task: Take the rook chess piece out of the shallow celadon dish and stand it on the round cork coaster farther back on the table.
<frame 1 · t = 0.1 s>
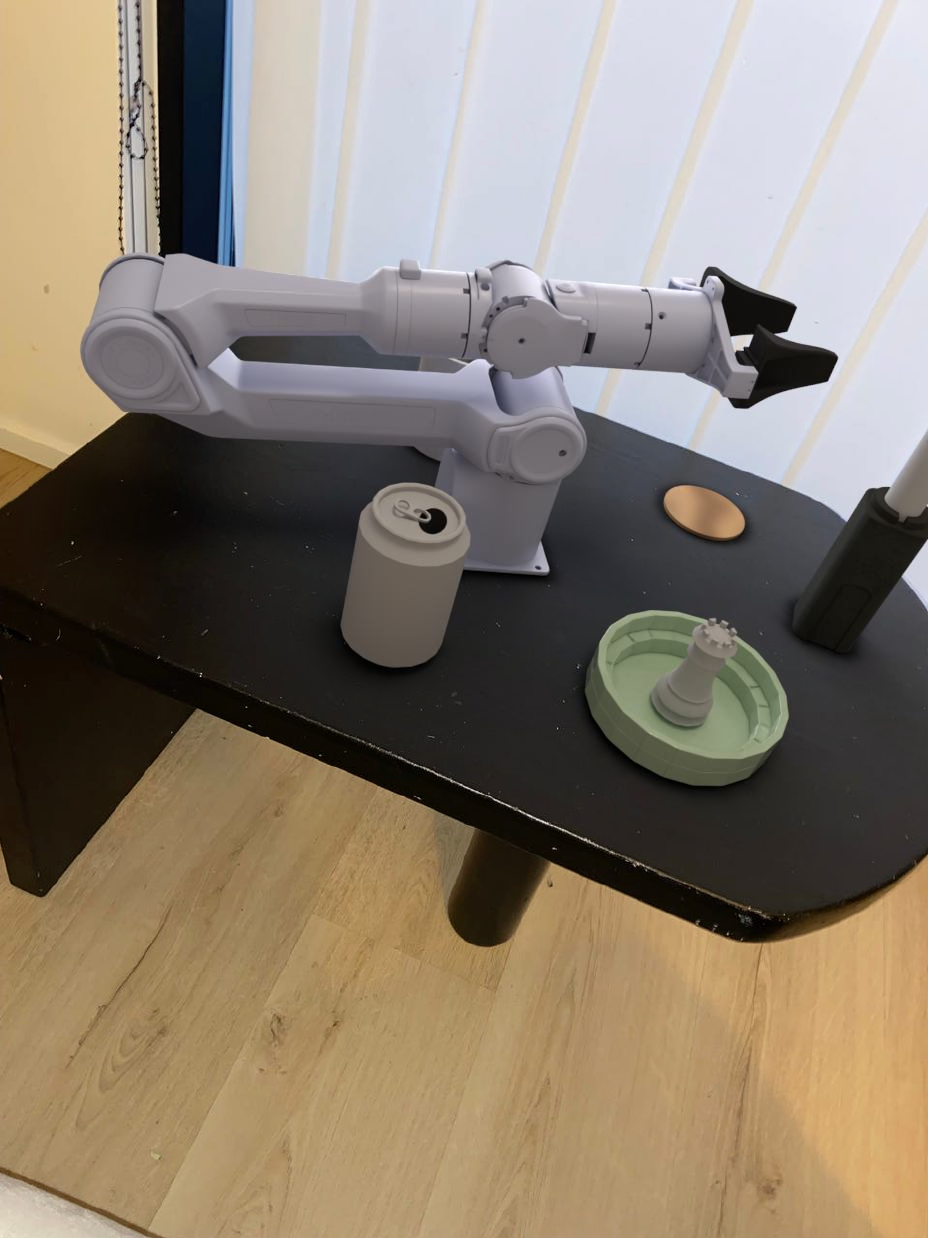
hand: (810, 341, 70), 22 cm above the table, tool horizontal, fingers open, 7 cm apart
can: (389, 639, 69), on the table
mug: (456, 431, 92), on the table
coaster: (703, 513, 91), on the table
dish: (675, 710, 70), on the table
rook chess piece: (676, 708, 70), resting on dish
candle: (820, 629, 82), on the table
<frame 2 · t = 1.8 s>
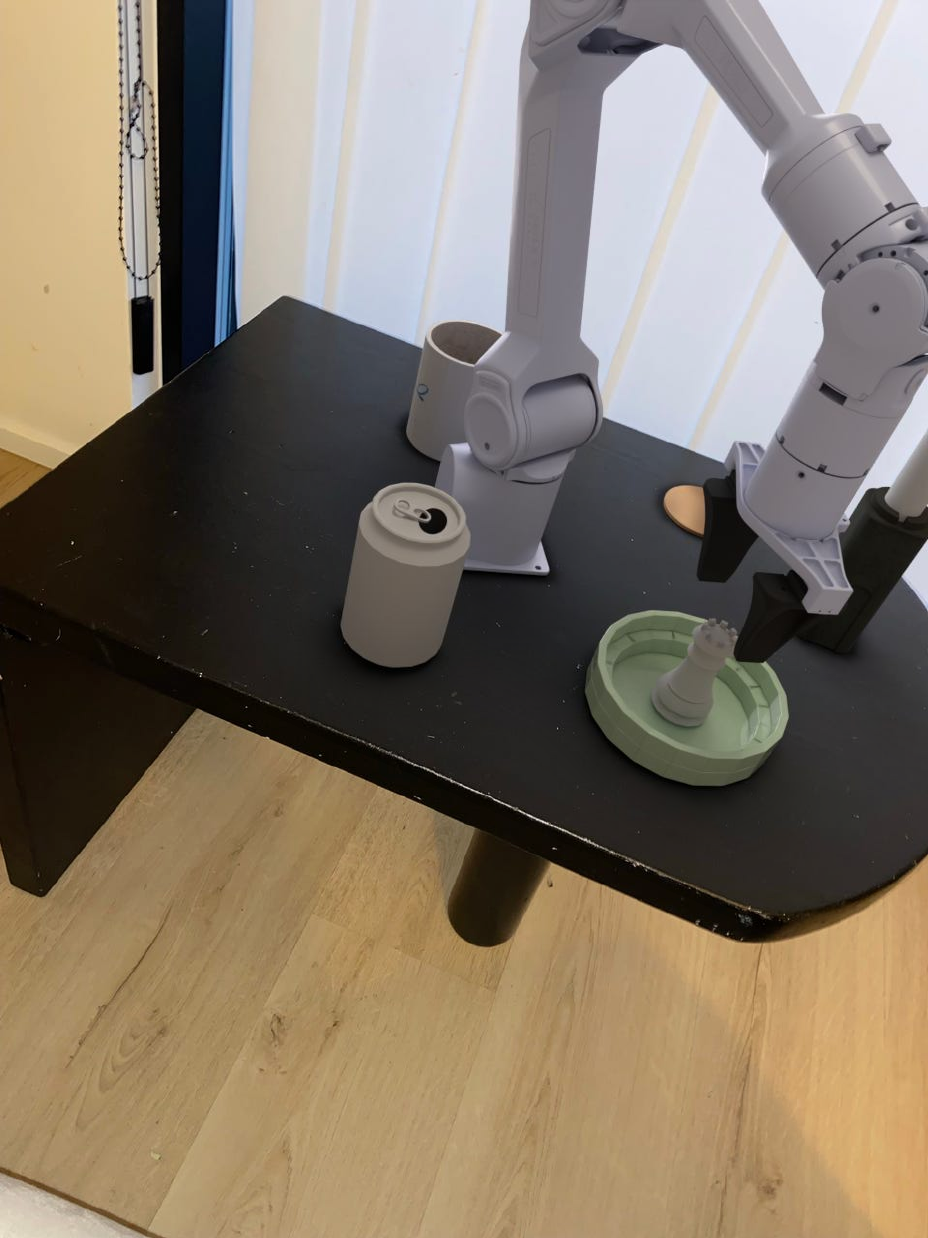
hand: (728, 617, 64), 10 cm above the table, tool pointing down, fingers open, 7 cm apart
nothing on the table moved.
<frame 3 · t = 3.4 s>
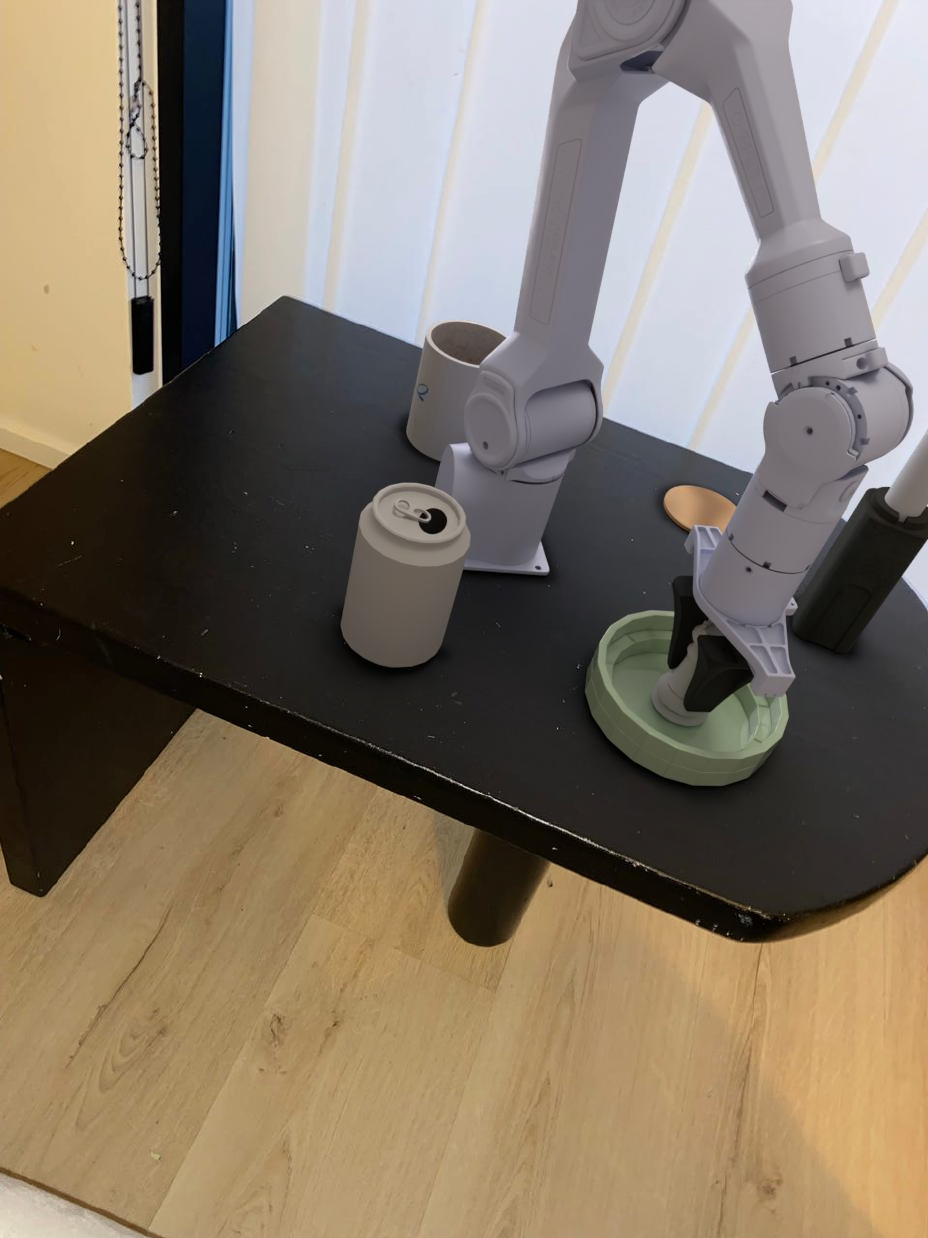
hand: (688, 687, 69), 3 cm above the table, tool pointing down, fingers closed on rook chess piece, 3 cm apart
rook chess piece: (676, 708, 70), resting on dish, touching gripper
everything else where it was.
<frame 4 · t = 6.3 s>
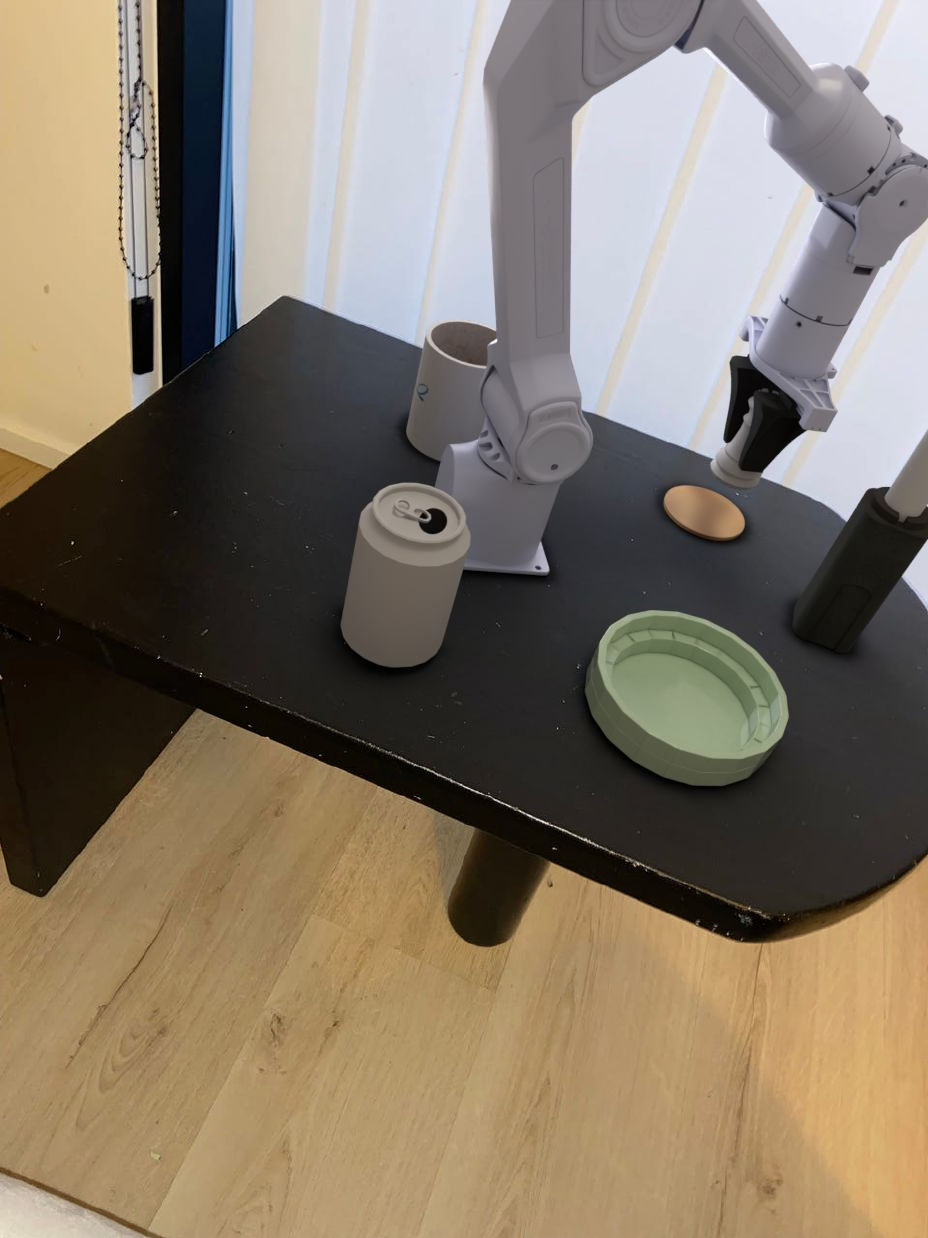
hand: (742, 455, 81), 9 cm above the table, tool pointing down, fingers closed on rook chess piece, 3 cm apart
rook chess piece: (731, 478, 82), point 7 cm above the table, touching gripper
everything else where it was.
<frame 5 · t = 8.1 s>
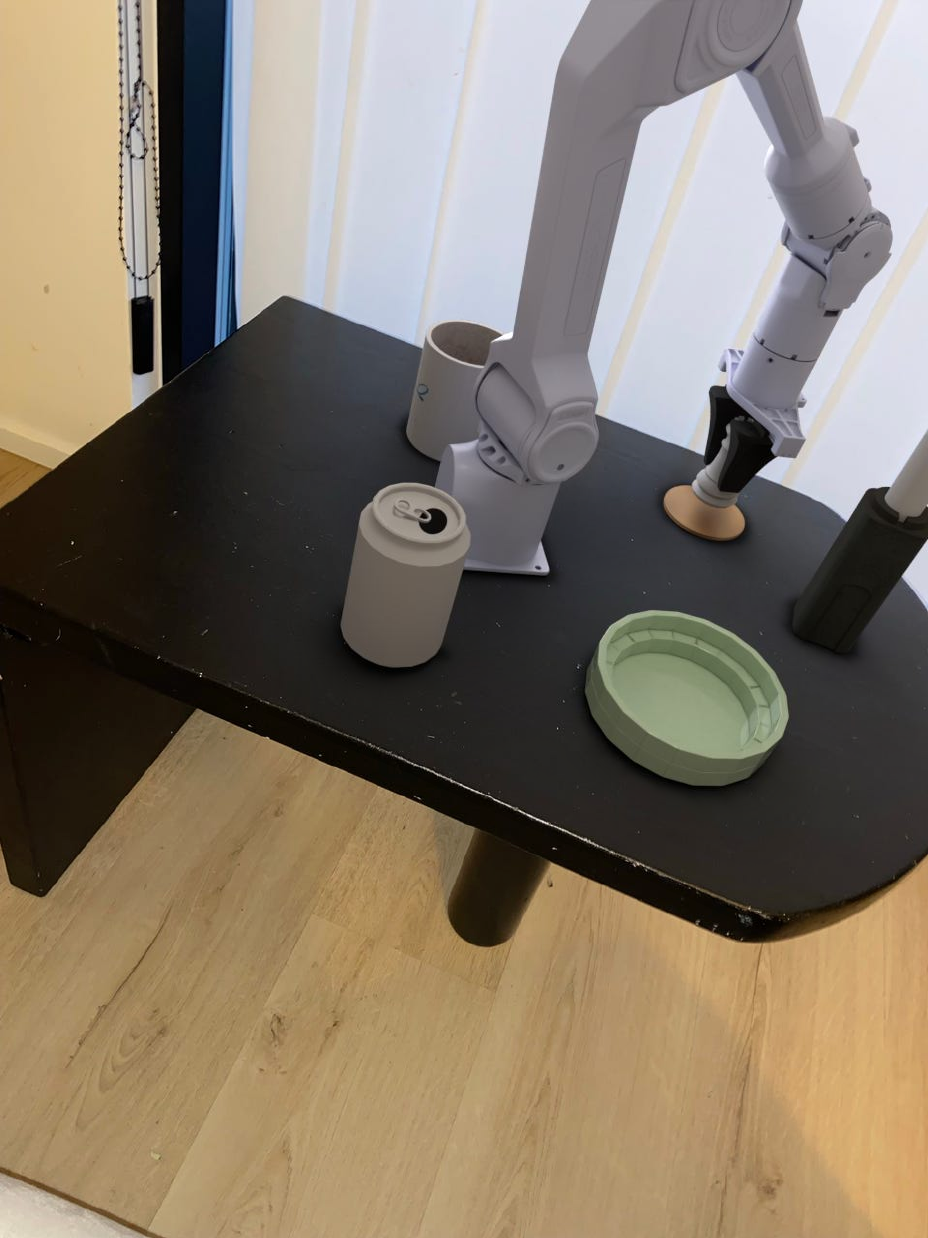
hand: (721, 477, 88), 4 cm above the table, tool pointing down, fingers closed on rook chess piece, 3 cm apart
rook chess piece: (711, 497, 89), point 2 cm above the table, touching gripper
everything else where it was.
when the fingers open (3 cm above the table, at t = 9.1 s): rook chess piece stays where it is, resting on coaster.
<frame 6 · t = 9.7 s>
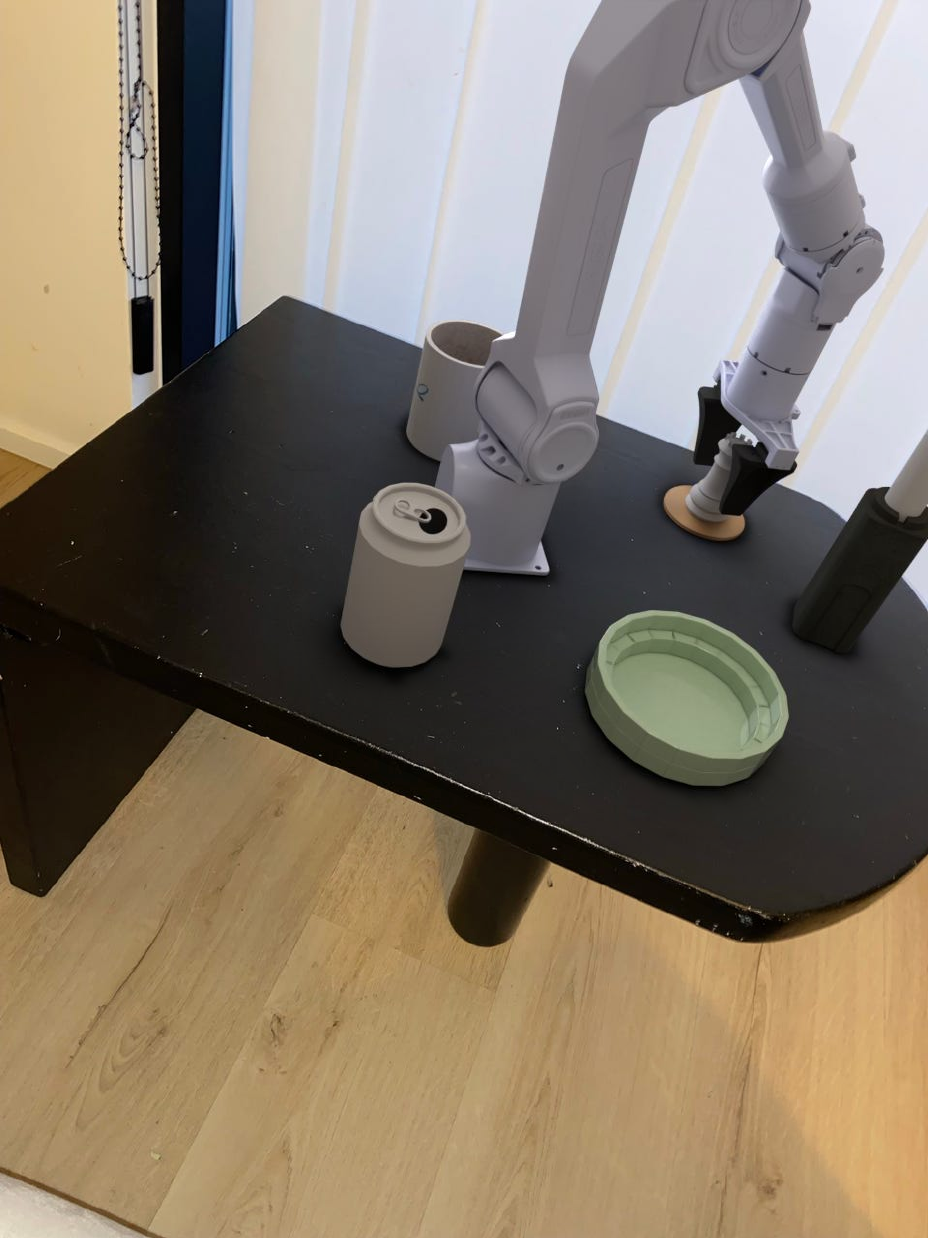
hand: (716, 487, 88), 3 cm above the table, tool pointing down, fingers open, 7 cm apart
rook chess piece: (704, 512, 90), resting on coaster
everything else where it was.
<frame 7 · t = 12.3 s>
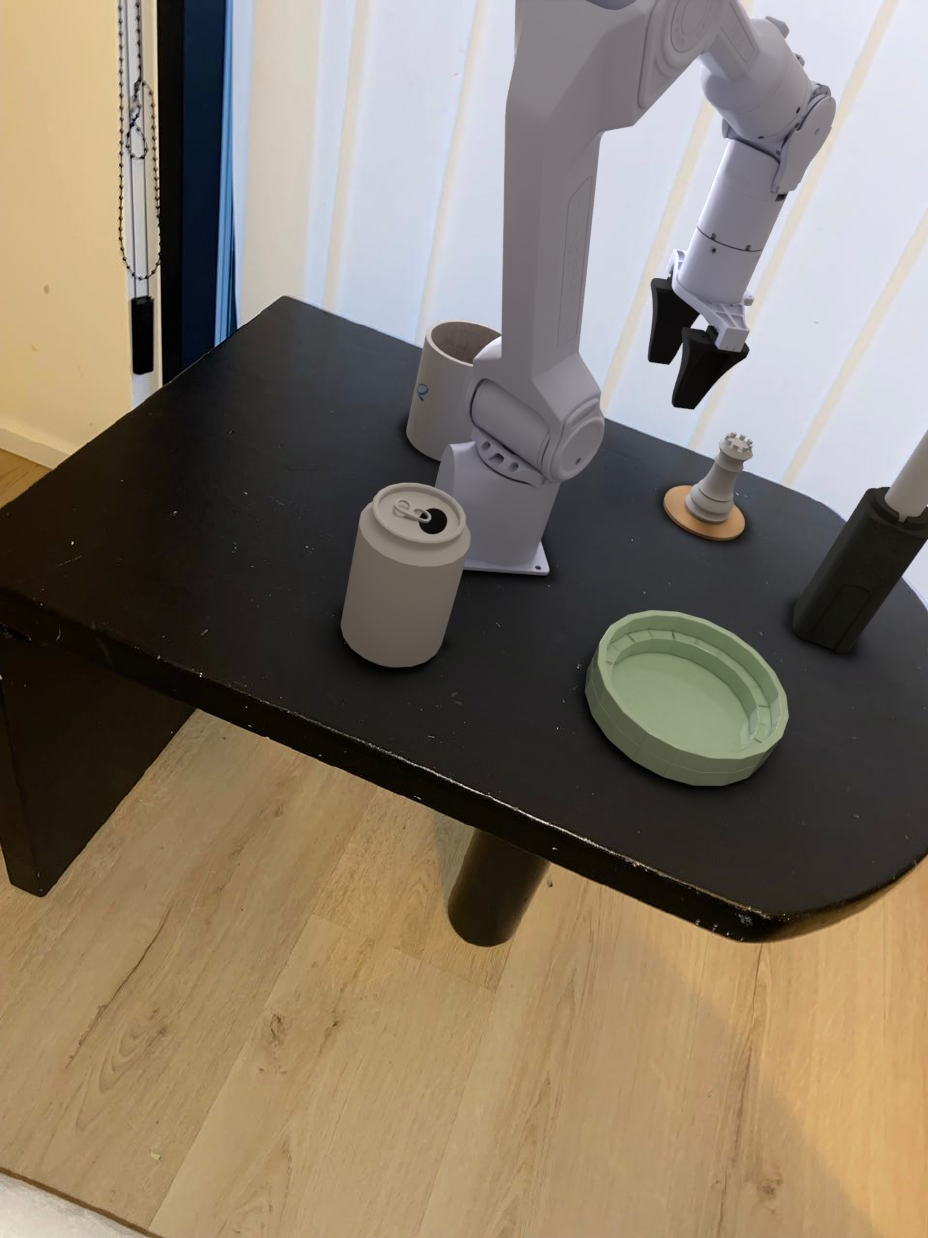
hand: (670, 383, 86), 10 cm above the table, tool pointing down, fingers open, 7 cm apart
nothing on the table moved.
at the end: rook chess piece 0.1 cm off-centre on the coaster, point 0.2 cm above the coaster's base; rook chess piece tilted 0°; rook chess piece touching coaster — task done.
